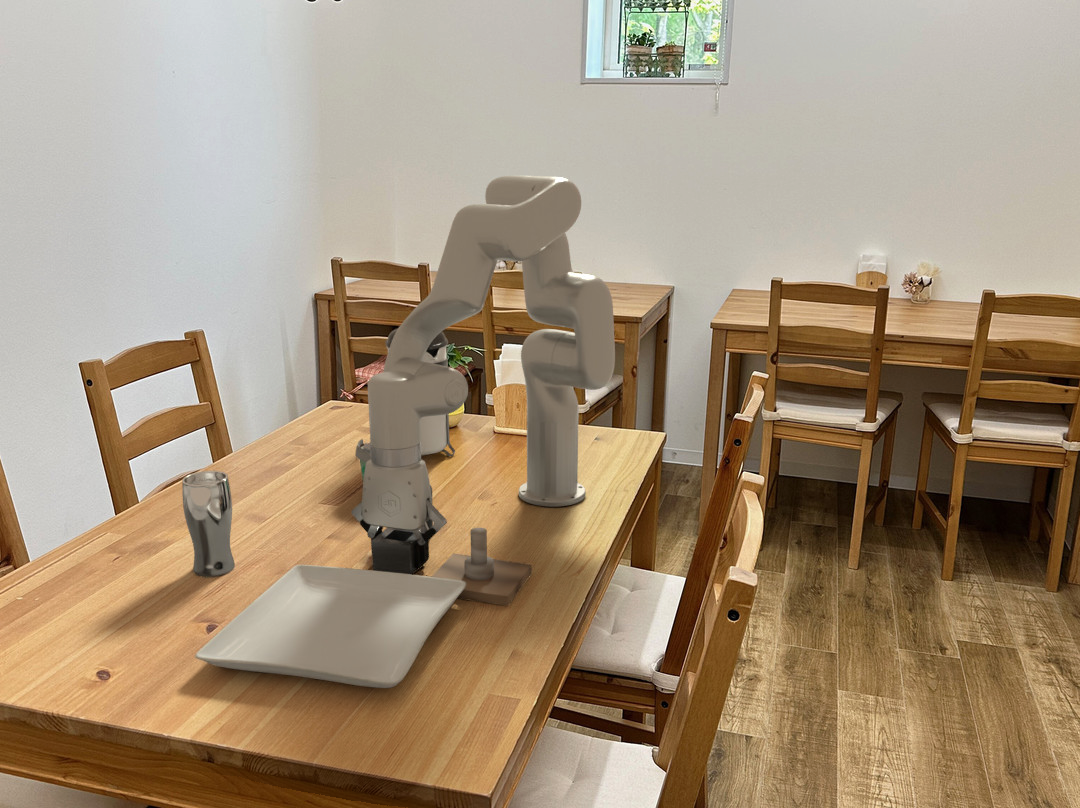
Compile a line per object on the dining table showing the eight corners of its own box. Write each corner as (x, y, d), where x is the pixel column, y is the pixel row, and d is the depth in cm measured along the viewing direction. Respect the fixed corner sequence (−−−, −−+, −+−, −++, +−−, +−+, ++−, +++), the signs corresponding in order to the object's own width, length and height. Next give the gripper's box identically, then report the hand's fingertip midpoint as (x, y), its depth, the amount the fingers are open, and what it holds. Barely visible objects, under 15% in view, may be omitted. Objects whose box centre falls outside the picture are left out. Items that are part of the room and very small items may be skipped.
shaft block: (453, 562, 144) (452, 512, 142) (531, 573, 141) (531, 522, 138) (424, 593, 134) (422, 539, 132) (508, 606, 130) (507, 551, 128)
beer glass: (247, 562, 144) (238, 473, 140) (218, 581, 138) (209, 488, 134) (210, 556, 146) (201, 467, 142) (180, 574, 140) (170, 482, 136)
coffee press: (466, 444, 202) (463, 310, 194) (442, 468, 187) (438, 323, 179) (392, 438, 206) (386, 306, 198) (363, 461, 191) (356, 319, 183)
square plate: (469, 602, 133) (468, 577, 131) (399, 710, 107) (398, 681, 106) (298, 582, 138) (296, 558, 137) (193, 681, 113) (190, 652, 112)
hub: (391, 554, 147) (390, 525, 146) (427, 559, 145) (426, 530, 144) (372, 570, 141) (371, 541, 140) (410, 576, 139) (409, 546, 138)
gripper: (332, 455, 137) (339, 564, 142) (438, 467, 132) (441, 580, 137) (356, 440, 144) (362, 545, 149) (458, 451, 139) (460, 559, 144)
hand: (400, 561), depth 143 cm, fingers closed on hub, 6 cm apart
